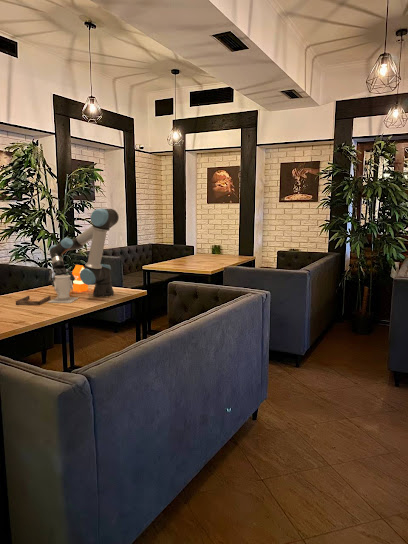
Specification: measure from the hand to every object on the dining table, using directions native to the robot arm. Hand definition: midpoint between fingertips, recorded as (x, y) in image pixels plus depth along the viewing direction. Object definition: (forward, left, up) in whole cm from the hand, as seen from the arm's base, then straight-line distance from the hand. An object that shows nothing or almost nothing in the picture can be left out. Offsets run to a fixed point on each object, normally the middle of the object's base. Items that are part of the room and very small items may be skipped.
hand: (64, 289), depth 275 cm
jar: (+2, -3, -6) cm, 7 cm away
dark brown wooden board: (+20, +5, -8) cm, 22 cm away
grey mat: (+2, -2, -8) cm, 9 cm away
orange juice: (+3, -38, -9) cm, 39 cm away
